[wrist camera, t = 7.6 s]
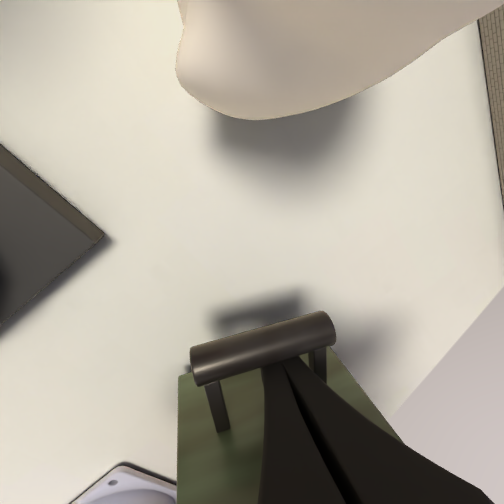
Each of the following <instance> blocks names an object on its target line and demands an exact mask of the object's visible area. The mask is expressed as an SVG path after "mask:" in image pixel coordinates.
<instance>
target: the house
mask: <svg viewBox="0 0 504 504" xmlns="http://www.w3.org/2000/svg"><path fill="white" fill-rule="evenodd" d="M479 24H480V32H481V39H482V47H483V54H484V62H485V69H486V76H487V84H488V91H489V99H490V106H491V114H492V121H493V128H494V136H495V143H496V151H497V158H498V166H499V173H500V180H501V188H502V195H503V203H504V4H503V5H501V6H500V7H498V8H497V9H495V10H493V11H491V12H490V13H488V14H486V15H485V16H483V17H481V18H479Z"/></svg>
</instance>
